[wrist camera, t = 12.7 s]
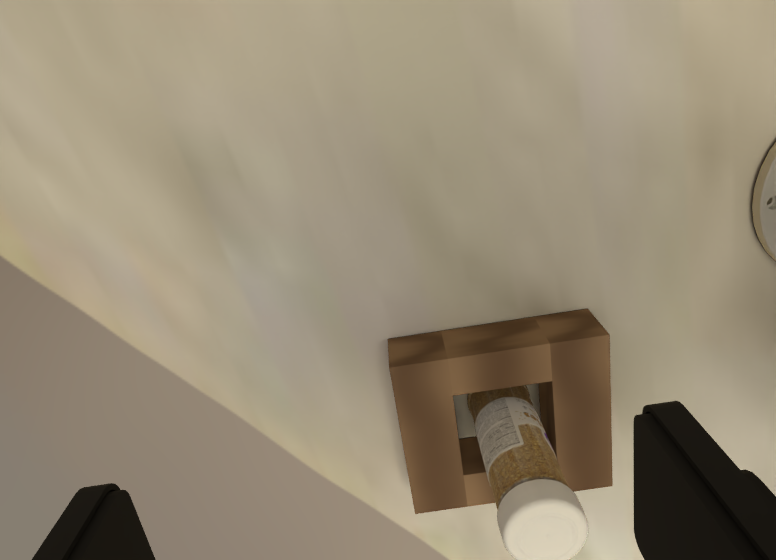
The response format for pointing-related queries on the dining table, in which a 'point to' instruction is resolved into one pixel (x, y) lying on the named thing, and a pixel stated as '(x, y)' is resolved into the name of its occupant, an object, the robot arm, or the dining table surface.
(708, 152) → the dining table surface
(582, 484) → the socket board
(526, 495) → the sprinkles bottle
